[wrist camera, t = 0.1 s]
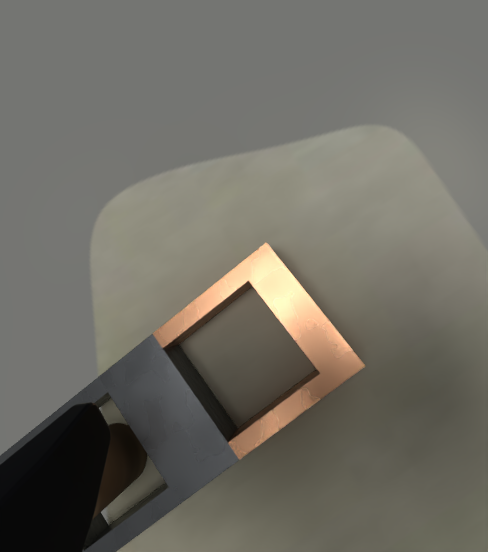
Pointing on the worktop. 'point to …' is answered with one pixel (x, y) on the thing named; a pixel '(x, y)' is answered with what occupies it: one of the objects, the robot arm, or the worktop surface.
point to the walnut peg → (120, 464)
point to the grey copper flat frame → (205, 394)
